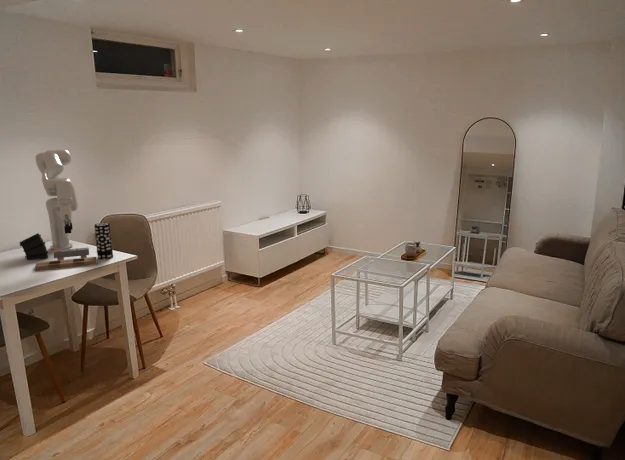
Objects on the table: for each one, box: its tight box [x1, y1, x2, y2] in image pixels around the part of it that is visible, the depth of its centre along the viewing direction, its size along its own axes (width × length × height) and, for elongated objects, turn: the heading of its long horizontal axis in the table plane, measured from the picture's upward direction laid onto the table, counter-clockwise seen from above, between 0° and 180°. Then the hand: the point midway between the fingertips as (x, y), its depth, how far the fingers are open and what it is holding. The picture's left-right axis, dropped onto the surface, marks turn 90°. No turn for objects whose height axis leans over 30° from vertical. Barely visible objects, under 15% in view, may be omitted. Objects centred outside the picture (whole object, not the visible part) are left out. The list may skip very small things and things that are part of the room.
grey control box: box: [53, 246, 90, 260], centre depth 277 cm, size 4×18×7 cm, turn 113°
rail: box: [34, 256, 98, 272], centre depth 267 cm, size 8×30×2 cm, turn 113°
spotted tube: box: [94, 222, 114, 261], centre depth 280 cm, size 8×8×20 cm
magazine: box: [19, 232, 49, 261], centre depth 278 cm, size 4×13×15 cm, turn 104°
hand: (68, 231), depth 273 cm, fingers open, 9 cm apart
